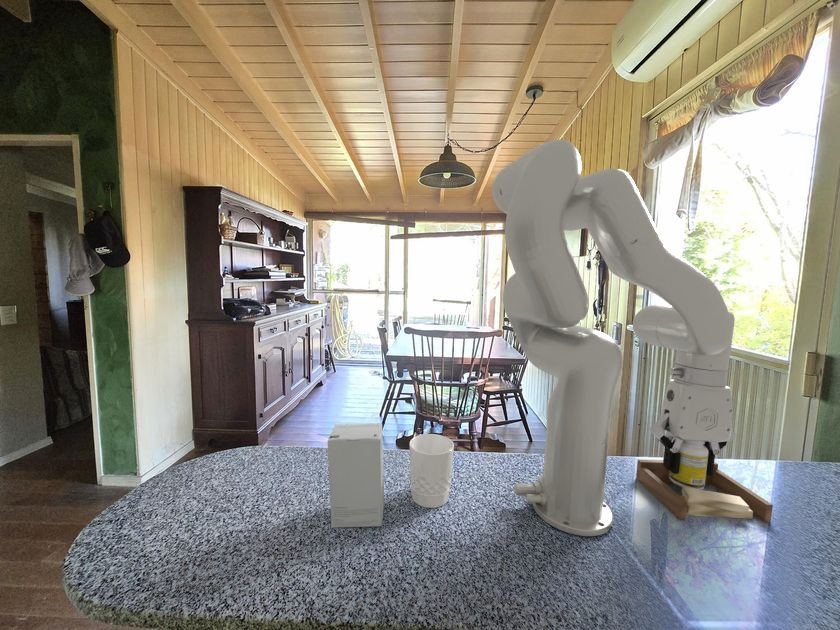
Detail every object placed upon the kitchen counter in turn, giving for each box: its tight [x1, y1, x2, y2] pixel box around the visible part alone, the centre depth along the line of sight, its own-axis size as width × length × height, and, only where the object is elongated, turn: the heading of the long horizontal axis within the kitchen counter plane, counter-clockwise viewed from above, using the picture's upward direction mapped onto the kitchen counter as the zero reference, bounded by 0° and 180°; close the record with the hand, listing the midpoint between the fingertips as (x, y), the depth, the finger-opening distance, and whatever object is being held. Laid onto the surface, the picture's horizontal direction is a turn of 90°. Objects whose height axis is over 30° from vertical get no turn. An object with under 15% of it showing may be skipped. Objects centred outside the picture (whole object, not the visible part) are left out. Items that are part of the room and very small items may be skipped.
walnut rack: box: [635, 459, 774, 524], centre depth 64 cm, size 15×12×4 cm
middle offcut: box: [678, 494, 754, 520], centre depth 61 cm, size 10×3×1 cm, turn 85°
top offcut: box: [681, 486, 749, 514], centre depth 61 cm, size 8×3×1 cm, turn 72°
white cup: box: [408, 433, 455, 509], centre depth 64 cm, size 8×8×10 cm
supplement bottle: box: [669, 440, 709, 490], centre depth 66 cm, size 5×5×10 cm
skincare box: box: [327, 422, 385, 529], centre depth 57 cm, size 8×6×15 cm
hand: (687, 470), depth 66 cm, fingers closed on supplement bottle, 5 cm apart
